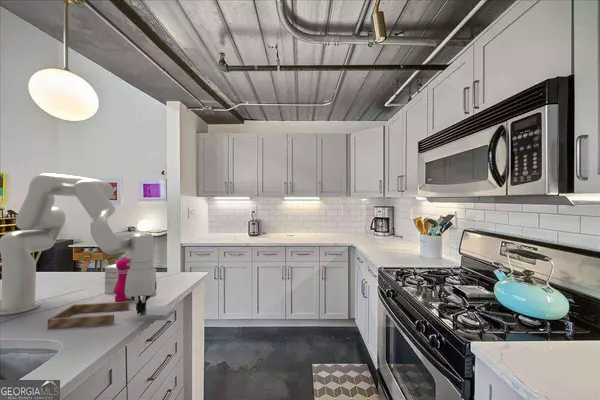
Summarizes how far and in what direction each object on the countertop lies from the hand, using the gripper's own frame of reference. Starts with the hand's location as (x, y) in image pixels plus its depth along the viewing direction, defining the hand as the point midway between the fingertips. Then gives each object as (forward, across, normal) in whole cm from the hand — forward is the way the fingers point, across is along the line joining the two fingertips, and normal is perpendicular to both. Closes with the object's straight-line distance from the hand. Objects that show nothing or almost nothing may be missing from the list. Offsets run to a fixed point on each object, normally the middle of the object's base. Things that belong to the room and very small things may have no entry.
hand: (141, 312), depth 104 cm
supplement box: (+1, -22, +32) cm, 39 cm away
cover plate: (+2, +6, -2) cm, 7 cm away
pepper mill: (+1, -14, +19) cm, 24 cm away
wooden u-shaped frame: (+1, -17, 0) cm, 17 cm away
